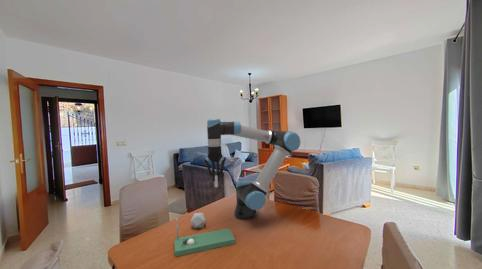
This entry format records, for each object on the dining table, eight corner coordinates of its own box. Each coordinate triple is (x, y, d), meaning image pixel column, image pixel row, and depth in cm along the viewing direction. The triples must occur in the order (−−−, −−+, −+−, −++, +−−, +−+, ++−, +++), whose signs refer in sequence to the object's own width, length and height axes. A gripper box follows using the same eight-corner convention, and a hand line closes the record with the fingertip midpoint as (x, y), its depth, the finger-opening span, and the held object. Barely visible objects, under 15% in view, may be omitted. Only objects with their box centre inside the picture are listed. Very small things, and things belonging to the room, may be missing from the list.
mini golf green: (229, 232, 120) (228, 208, 119) (235, 243, 109) (234, 217, 108) (174, 243, 111) (173, 217, 110) (175, 256, 100) (173, 228, 99)
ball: (190, 235, 109) (184, 241, 108) (191, 239, 105) (185, 245, 104) (195, 240, 110) (189, 246, 109) (196, 244, 106) (190, 250, 105)
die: (198, 233, 121) (208, 217, 124) (185, 225, 123) (195, 209, 125) (201, 231, 130) (210, 216, 132) (189, 223, 131) (198, 208, 133)
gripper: (224, 144, 124) (225, 183, 126) (202, 146, 120) (203, 186, 122) (227, 145, 117) (228, 187, 119) (204, 147, 113) (205, 190, 115)
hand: (216, 186), depth 120 cm, fingers closed
